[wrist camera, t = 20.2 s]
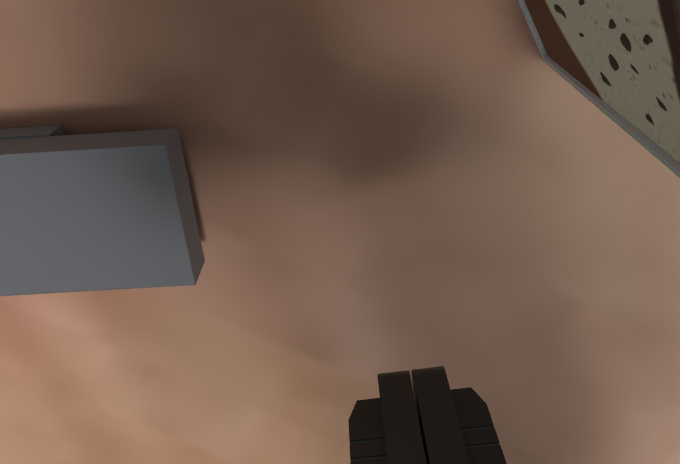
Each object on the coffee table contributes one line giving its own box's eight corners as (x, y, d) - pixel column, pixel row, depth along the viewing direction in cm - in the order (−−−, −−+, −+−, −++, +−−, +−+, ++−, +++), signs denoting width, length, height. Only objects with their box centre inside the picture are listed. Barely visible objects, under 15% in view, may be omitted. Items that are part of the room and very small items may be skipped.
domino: (195, 284, 19) (-95, 301, 19) (204, 260, 20) (-66, 276, 21) (164, 144, 17) (-166, 164, 17) (177, 128, 18) (-127, 147, 18)
